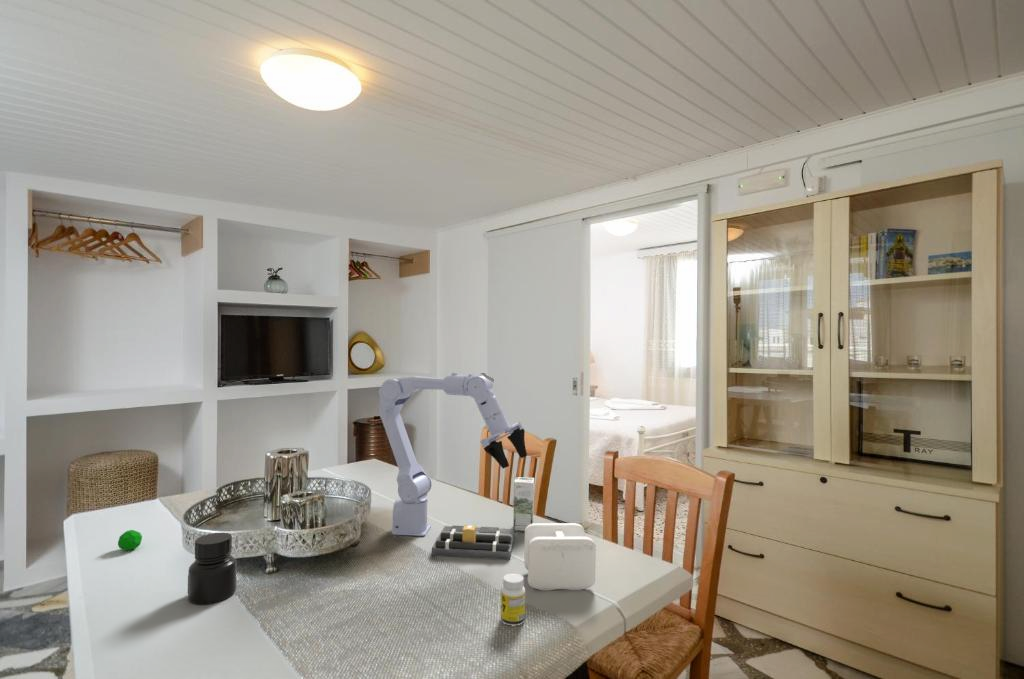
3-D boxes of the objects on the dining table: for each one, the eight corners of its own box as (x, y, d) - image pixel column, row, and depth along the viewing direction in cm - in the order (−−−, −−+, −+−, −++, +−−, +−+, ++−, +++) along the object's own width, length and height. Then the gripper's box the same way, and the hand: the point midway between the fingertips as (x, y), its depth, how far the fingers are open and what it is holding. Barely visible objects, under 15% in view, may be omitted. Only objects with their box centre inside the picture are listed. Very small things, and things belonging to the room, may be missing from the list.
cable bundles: (435, 548, 132) (435, 541, 132) (443, 535, 142) (443, 528, 142) (509, 552, 130) (509, 545, 130) (512, 538, 140) (512, 531, 140)
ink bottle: (227, 581, 117) (228, 527, 117) (245, 593, 112) (246, 537, 112) (178, 596, 110) (180, 539, 110) (195, 611, 104) (196, 550, 104)
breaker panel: (431, 555, 133) (431, 544, 133) (444, 533, 149) (445, 523, 149) (510, 559, 131) (510, 548, 131) (515, 536, 147) (515, 526, 147)
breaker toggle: (462, 545, 134) (462, 528, 134) (464, 540, 137) (464, 524, 137) (473, 545, 134) (474, 529, 134) (475, 541, 137) (475, 525, 137)
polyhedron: (113, 551, 132) (114, 532, 133) (135, 544, 137) (135, 526, 137) (124, 555, 130) (124, 535, 130) (145, 548, 134) (146, 529, 135)
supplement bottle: (499, 614, 104) (500, 572, 105) (523, 614, 105) (524, 571, 105) (501, 627, 100) (502, 583, 100) (526, 627, 100) (526, 582, 100)
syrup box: (533, 525, 156) (534, 476, 156) (532, 532, 150) (533, 482, 150) (514, 524, 156) (515, 476, 156) (512, 531, 151) (513, 481, 151)
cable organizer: (586, 571, 125) (587, 522, 125) (595, 592, 115) (596, 539, 115) (524, 571, 124) (524, 522, 124) (527, 593, 114) (528, 539, 114)
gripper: (484, 420, 135) (506, 468, 133) (519, 403, 146) (541, 448, 144) (468, 428, 140) (490, 475, 138) (504, 411, 151) (524, 455, 149)
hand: (515, 462), depth 141 cm, fingers open, 7 cm apart
